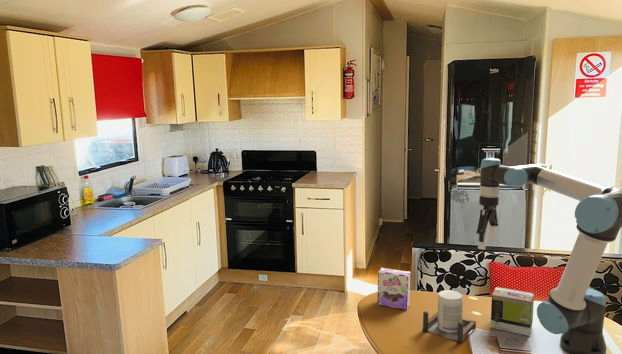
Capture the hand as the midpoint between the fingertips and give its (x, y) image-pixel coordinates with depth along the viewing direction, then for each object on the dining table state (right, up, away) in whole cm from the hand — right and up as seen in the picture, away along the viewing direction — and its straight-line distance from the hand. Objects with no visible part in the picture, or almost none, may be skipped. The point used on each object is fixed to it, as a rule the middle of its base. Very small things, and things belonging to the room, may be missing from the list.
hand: (486, 244), depth 200 cm
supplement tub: (-18, -33, -7) cm, 38 cm away
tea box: (+8, -33, -5) cm, 35 cm away
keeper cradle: (-18, -34, -7) cm, 39 cm away
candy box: (-37, -30, +16) cm, 50 cm away
